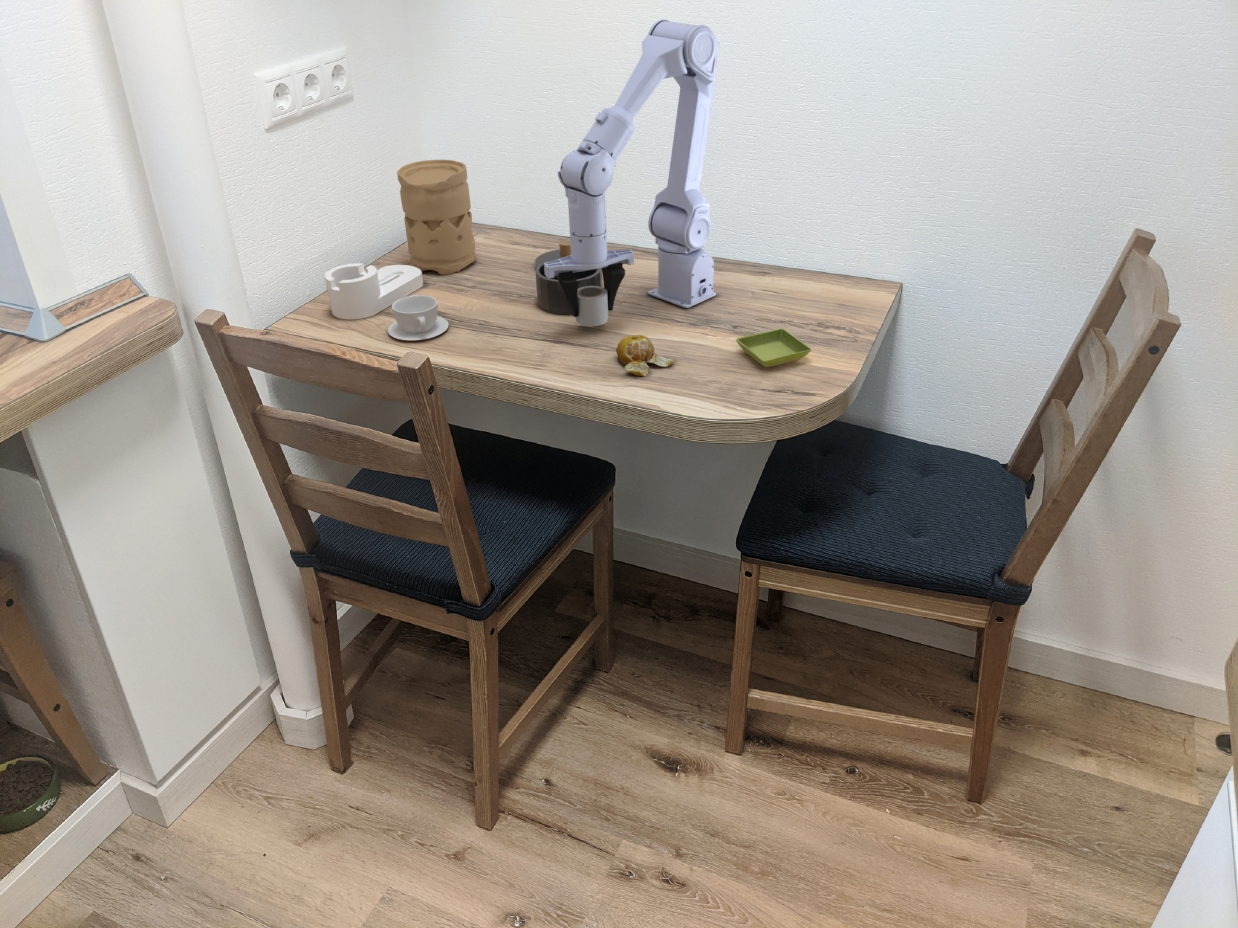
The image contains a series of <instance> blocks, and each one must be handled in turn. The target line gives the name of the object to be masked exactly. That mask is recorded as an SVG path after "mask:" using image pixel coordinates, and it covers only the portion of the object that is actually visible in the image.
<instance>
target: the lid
mask: <svg viewBox="0 0 1238 928" xmlns="http://www.w3.org/2000/svg"><path fill="white" fill-rule="evenodd" d="M558 248H559V249H553V250H549V251H546V252H544V253H541V254H539V255H538V256H537V257H535V260H534V266H535V269H536V268H537V266H538V265H540V264H541V263H543V262H545V261H548V260H551V259H556V258H563V257H567V256H570V255H571V243H570V240H562V241H559V243H558Z"/></svg>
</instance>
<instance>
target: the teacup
mask: <svg viewBox="0 0 1238 928" xmlns="http://www.w3.org/2000/svg"><path fill="white" fill-rule="evenodd" d="M438 304H439V303H438V299H436V298H435V297H434V296H431V295H427V294H414V295H407V296H406V297H403V298H400V299H398V300H396V301H395V302H394V303H393V304H392V305H391V309H392V312H393V316H394V319H395V321H393V322H392V323H391V324H390V325H389V326H388V328H387V333H388V335H389V336H391V337H393V338H394V339H397V340H401V341H421V340H428V339H432V338H434V337H437V336H440V335H441V334H443V333H444V332H445V331H447V330H448V328H449V322H448V320H447V319H446V318H444V317H442V316H438V311H439V310H438V309H439V308H438V306H439V305H438Z"/></svg>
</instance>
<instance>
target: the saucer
mask: <svg viewBox="0 0 1238 928" xmlns="http://www.w3.org/2000/svg"><path fill="white" fill-rule="evenodd" d="M735 341H736V343H737V344H738V346H739V347H740V348H741V349H742V350H743V351H744V352H745V353H746V354H747V355H749V356H750V357H751V358H752V359H754V360H755V361H756V362H758V363H759V364H760V365H761V366H763V367H764V368H767V369H768V368H771V367H772V368H773V367H775V366H781V365H783V364H789V363H792V362H795V361H799V360H801V359H803V358H804V357H806V356H807V355H808V354H810V352H812V348H811V347H810V346H809V345H807V344H806V343H805V342H803V341H802V340H800V339H798V338H797V337H796V336H794V335H793V334H792V333H790V332H789V331H788V330H786V329H785V328H776V329H772V330H768V331H764V332H759V333H754V334H749V335H746V336H741V337H737V338H736V339H735Z"/></svg>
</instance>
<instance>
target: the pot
mask: <svg viewBox="0 0 1238 928" xmlns="http://www.w3.org/2000/svg"><path fill="white" fill-rule="evenodd" d="M563 258H564V257H563ZM558 259H561V258H556V259H551V260H548V261H545V262H543V263H541V264H540V265H538V266H537V268H536V267H535V269H534V277H535V285H536V286H535V287H536V300H537V304H538V307H539V308H540V309H541V310H543V311H544V312H547V313H549V314H553V315H554V314H555V315H562V316H563V315H564V316H570V315H571V316H573V315H572V314H571V312H570V308H569V304H568V301H567V298H566V295H565V293H564V291H563V288H562V286H561V285H560V283H559V281H558V279H557V277H556V276H554V278H548V277H547V276H546V275H545V271H544V263H546V262H551V261H555V260H558ZM573 275H575V279H576V280H577V281H578V288H581V287H585V286H599V287H603V288H604V283H603V274H602V268H598V269H592V270H586V271H580V272H574V273H573Z"/></svg>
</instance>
